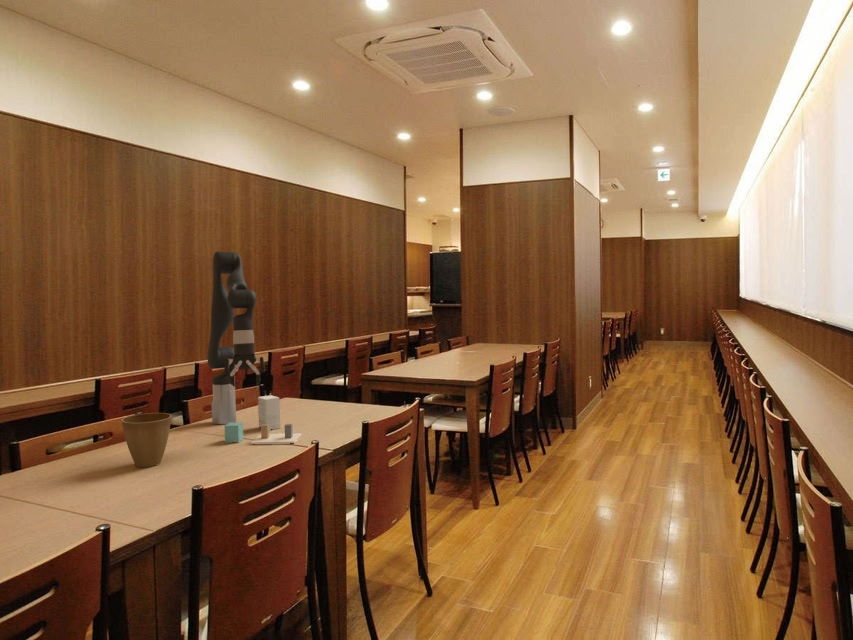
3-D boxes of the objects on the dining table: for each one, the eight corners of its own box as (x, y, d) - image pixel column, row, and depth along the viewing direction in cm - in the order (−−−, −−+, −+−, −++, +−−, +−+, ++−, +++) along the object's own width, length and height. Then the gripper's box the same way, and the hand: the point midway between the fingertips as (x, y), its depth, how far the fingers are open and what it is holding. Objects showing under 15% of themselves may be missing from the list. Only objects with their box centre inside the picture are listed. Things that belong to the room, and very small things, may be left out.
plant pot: (118, 473, 180) (116, 424, 179) (129, 460, 195) (127, 414, 194) (169, 468, 184) (167, 420, 183) (176, 456, 199) (174, 411, 198)
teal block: (225, 442, 215) (224, 425, 214) (229, 439, 220) (229, 422, 220) (238, 442, 215) (238, 425, 214) (243, 439, 220) (242, 422, 219)
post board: (251, 444, 211) (250, 429, 211) (261, 436, 223) (260, 421, 223) (294, 444, 211) (293, 428, 211) (301, 435, 223) (301, 420, 223)
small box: (280, 428, 236) (279, 397, 235) (266, 431, 232) (265, 399, 231) (272, 425, 242) (271, 394, 242) (258, 427, 238) (257, 396, 238)
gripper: (264, 341, 219) (266, 383, 219) (225, 343, 216) (227, 385, 216) (262, 341, 211) (264, 385, 211) (222, 343, 209) (224, 387, 208)
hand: (245, 385), depth 213 cm, fingers open, 8 cm apart
